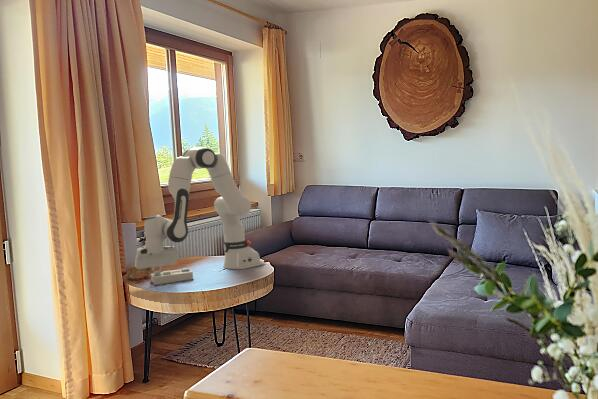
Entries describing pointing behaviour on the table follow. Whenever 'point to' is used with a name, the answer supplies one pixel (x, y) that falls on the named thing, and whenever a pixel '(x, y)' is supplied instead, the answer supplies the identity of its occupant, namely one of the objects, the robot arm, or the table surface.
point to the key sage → (166, 272)
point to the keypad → (172, 277)
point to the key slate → (184, 269)
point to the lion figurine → (134, 269)
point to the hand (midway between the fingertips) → (157, 275)
